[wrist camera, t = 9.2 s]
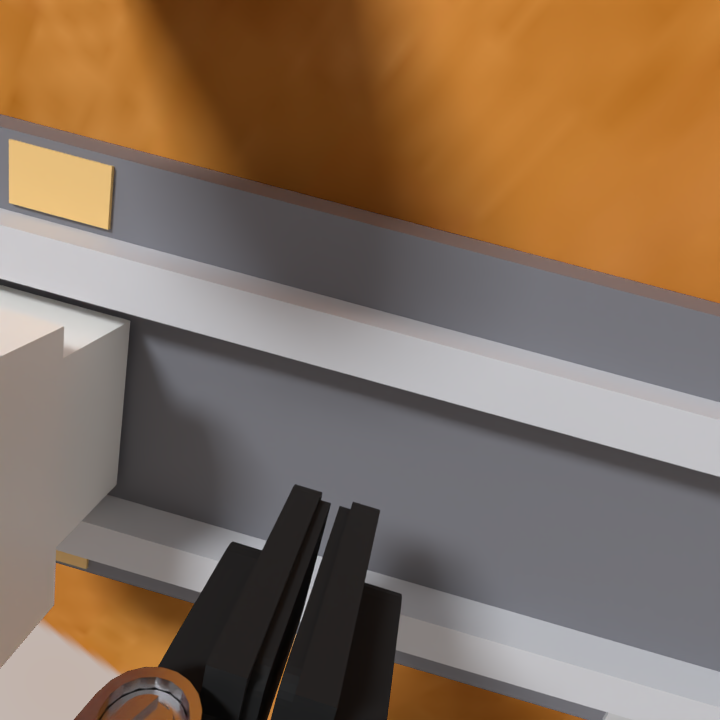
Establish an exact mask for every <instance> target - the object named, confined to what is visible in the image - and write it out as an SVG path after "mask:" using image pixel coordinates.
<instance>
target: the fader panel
mask: <svg viewBox="0 0 720 720" xmlns="http://www.w3.org/2000/svg"><path fill="white" fill-rule="evenodd" d="M0 285H3V286H6V287H10V288H14V289H17V290H21V291H24V292H28V293H32V294H35V295H39V296H43V297H46V298H50V299H53V300H57V301H61V302H64V303H68V304H71V305H75V306H79V307H82V308H86V309H90V310H93V311H97V312H100V313H104V314H108V315H111V316H115V317H119V318H122V319H126V320H129V321H130V332H129V343H128V355H127V367H126V379H125V391H124V403H123V415H122V427H121V438H120V450H119V462H118V474H117V485H116V486H115V487H114V488H113V489H112V490H111V491H110V492H109V493H108V494H107V495H106V496H105V497H104V498H103V499H102V500H101V501H100V502H99V503H98V504H97V505H96V506H95V507H94V508H93V510H92V511H91V512H90V513H89V514H88V515H87V516H86V517H85V518H84V519H83V520H82V521H81V522H80V523H79V524H78V525H77V526H76V527H75V528H74V529H73V530H72V531H71V532H70V533H69V534H68V535H67V537H66V538H65V539H64V540H63V541H62V542H61V543H60V544H59V545H58V546H57V547H56V563H59V564H63V565H66V566H69V567H73V568H76V569H79V570H83V571H86V572H90V573H93V574H96V575H100V576H103V577H106V578H110V579H113V580H117V581H120V582H123V583H127V584H130V585H134V586H137V587H140V588H144V589H147V590H150V591H154V592H157V593H161V594H164V595H167V596H171V597H174V598H178V599H181V600H184V601H188V602H191V603H194V604H195V602H196V600H197V599H198V597H199V595H200V593H201V592H202V590H203V588H204V587H205V585H206V583H207V581H208V580H209V578H210V576H211V574H212V573H213V571H214V569H215V568H216V566H217V564H218V562H219V561H220V559H221V557H222V556H223V554H224V552H225V550H226V549H227V547H228V546H229V544H230V543H231V542H233V541H234V542H237V543H240V544H243V545H246V546H250V547H253V548H256V549H259V550H262V549H263V547H264V545H265V543H266V541H267V539H268V537H269V535H270V533H271V531H272V529H273V527H274V525H275V523H276V521H277V519H278V517H279V515H280V513H281V511H282V509H283V506H284V504H285V502H286V500H287V498H288V496H289V494H290V492H291V490H292V488H293V486H294V485H295V484H297V485H300V486H303V487H307V488H310V489H313V490H316V491H320V492H322V498H321V500H322V501H326V502H329V503H331V506H330V510H329V514H328V517H327V521H326V525H325V529H324V533H323V537H322V540H321V544H320V548H319V552H318V556H317V560H316V563H315V567H314V571H313V575H312V579H311V583H310V586H309V590H308V594H307V598H306V602H305V606H304V609H303V613H302V616H301V619H300V623H301V620H302V617H303V614H304V611H305V608H306V605H307V602H308V599H309V596H310V593H311V590H312V587H313V584H314V581H315V578H316V575H317V572H318V569H319V566H320V563H321V560H322V557H323V554H324V551H325V548H326V545H327V542H328V539H329V536H330V533H331V530H332V527H333V524H334V521H335V518H336V515H337V512H338V509H339V506H342V507H345V508H349V509H351V506H352V503H353V502H356V503H360V504H363V505H366V506H369V507H373V508H376V509H379V510H380V514H379V519H378V524H377V528H376V533H375V537H374V542H373V547H372V551H371V556H370V560H369V565H368V570H367V574H366V579H365V583H368V584H372V585H375V586H378V587H381V588H385V589H388V590H391V591H394V592H397V593H401V594H402V604H401V612H400V620H399V628H398V636H397V644H396V652H395V660H394V663H397V664H401V665H404V666H408V667H411V668H414V669H418V670H421V671H424V672H428V673H431V674H435V675H438V676H441V677H445V678H448V679H451V680H455V681H458V682H462V683H465V684H468V685H472V686H475V687H479V688H482V689H485V690H489V691H492V692H495V693H499V694H502V695H506V696H509V697H512V698H516V699H519V700H522V701H526V702H529V703H533V704H536V705H539V706H543V707H546V708H550V709H553V710H556V711H560V712H563V713H566V714H570V715H573V716H577V717H580V718H583V719H587V720H720V304H719V303H715V302H712V301H708V300H704V299H700V298H696V297H693V296H689V295H685V294H681V293H677V292H674V291H670V290H666V289H662V288H658V287H655V286H651V285H647V284H643V283H639V282H636V281H632V280H628V279H624V278H620V277H617V276H613V275H609V274H605V273H601V272H598V271H594V270H590V269H586V268H582V267H579V266H575V265H571V264H567V263H563V262H560V261H556V260H552V259H548V258H544V257H541V256H537V255H533V254H529V253H525V252H522V251H518V250H514V249H510V248H506V247H503V246H499V245H495V244H491V243H487V242H484V241H480V240H476V239H472V238H468V237H465V236H461V235H457V234H453V233H449V232H446V231H442V230H438V229H434V228H430V227H427V226H423V225H419V224H415V223H411V222H408V221H404V220H400V219H396V218H392V217H389V216H385V215H381V214H377V213H373V212H370V211H366V210H362V209H358V208H354V207H351V206H347V205H343V204H339V203H335V202H332V201H328V200H324V199H320V198H316V197H313V196H309V195H305V194H301V193H297V192H294V191H290V190H286V189H282V188H278V187H275V186H271V185H267V184H263V183H259V182H256V181H252V180H248V179H244V178H240V177H237V176H233V175H229V174H225V173H221V172H218V171H214V170H210V169H206V168H202V167H199V166H195V165H191V164H187V163H183V162H180V161H176V160H172V159H168V158H164V157H161V156H157V155H153V154H149V153H145V152H142V151H138V150H134V149H130V148H126V147H123V146H119V145H115V144H111V143H107V142H104V141H100V140H96V139H92V138H88V137H85V136H81V135H77V134H73V133H69V132H66V131H62V130H58V129H54V128H51V127H47V126H43V125H39V124H35V123H32V122H28V121H24V120H20V119H16V118H13V117H9V116H5V115H1V114H0ZM300 623H299V626H300ZM299 626H298V629H299ZM298 629H297V632H298ZM297 632H296V634H297Z"/></svg>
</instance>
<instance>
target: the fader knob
mask: <svg viewBox="0 0 720 720" xmlns="http://www.w3.org/2000/svg"><path fill="white" fill-rule="evenodd" d="M129 332H130V321H129V320H126V319H122V318H119V317H115V316H111V315H108V314H104V313H100V312H97V311H93V310H90V309H86V308H82V307H79V306H75V305H71V304H68V303H64V302H61V301H57V300H53V299H50V298H46V297H43V296H39V295H35V294H32V293H28V292H24V291H21V290H17V289H14V288H10V287H6V286H3V285H0V668H1V667H2V666H3V665H4V663H5V662H6V661H7V660H8V659H9V658H10V656H11V655H12V654H13V653H14V652H15V650H16V649H17V648H18V647H19V646H20V644H21V643H22V642H23V641H24V640H25V639H26V637H27V636H28V635H29V634H30V633H31V631H32V630H33V629H34V628H35V626H37V624H38V623H39V622H40V621H41V620H42V619H43V617H44V616H45V615H46V614H47V613H48V611H49V610H50V609H51V608H52V607H53V606H54V592H55V565H56V547H57V546H58V545H59V544H60V543H61V542H62V541H63V540H64V539H65V538H66V537H67V535H68V534H69V533H70V532H71V531H72V530H73V529H74V528H75V527H76V526H77V525H78V524H79V523H80V522H81V521H82V520H83V519H84V518H85V517H86V516H87V515H88V514H89V513H90V512H91V511H92V510H93V508H94V507H95V506H96V505H97V504H98V503H99V502H100V501H101V500H102V499H103V498H104V497H105V496H106V495H107V494H108V493H109V492H110V491H111V490H112V489H113V488H114V487H115V486H116V485H117V474H118V462H119V450H120V438H121V427H122V415H123V403H124V391H125V379H126V367H127V355H128V343H129Z"/></svg>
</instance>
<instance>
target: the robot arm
mask: <svg viewBox="0 0 720 720" xmlns="http://www.w3.org/2000/svg"><path fill="white" fill-rule="evenodd" d="M321 498H322V492H320V491H316V490H313V489H310V488H307V487H303V486H300V485H297V484H295V485H294V486H293V488H292V490H291V492H290V494H289V496H288V498H287V500H286V502H285V504H284V506H283V509H282V511H281V513H280V515H279V517H278V519H277V521H276V523H275V525H274V527H273V529H272V531H271V533H270V535H269V537H268V539H267V541H266V543H265V545H264V547H263V549H262V550H259V549H256V548H253V547H250V546H246V545H243V544H240V543H237V542H234V541H233V542H231V543H230V544H229V546H228V547H227V549H226V550H225V552H224V554H223V556H222V557H221V559H220V561H219V562H218V564H217V566H216V568H215V569H214V571H213V573H212V574H211V576H210V578H209V580H208V581H207V583H206V585H205V587H204V588H203V590H202V592H201V593H200V595H199V597H198V599H197V600H196V602H195V604H194V606H193V607H192V609H191V611H190V612H189V614H188V616H187V618H186V619H185V621H184V623H183V624H182V626H181V628H180V630H179V631H178V633H177V635H176V637H175V638H174V640H173V642H172V643H171V645H170V647H169V649H168V650H167V652H166V654H165V655H164V657H163V659H162V661H161V662H160V664H159V666H158V667H143V668H139V669H135V670H131V671H127V672H125V673H124V674H122V675H120V676H118V677H116V678H114V679H112V680H111V681H110V682H109V683H107V684H106V685H105V686H104V687H103V688H102V689H101V690H100V691H98V692H97V693H96V694H95V696H94V697H93V698H92V699H91V700H90V701H89V703H88V704H87V705H86V706H85V707H84V708H83V710H82V711H81V712H80V713H79V714H78V716H76V718H75V719H74V720H267V718H268V715H269V712H270V709H271V706H272V703H273V700H274V697H275V694H276V691H277V688H278V685H279V682H280V679H281V676H282V673H283V670H284V668H285V665H286V662H287V659H288V656H289V653H290V650H291V647H292V644H293V641H294V638H295V635H296V632H297V629H298V626H299V623H300V619H301V616H302V613H303V609H304V606H305V602H306V598H307V594H308V590H309V586H310V583H311V579H312V575H313V571H314V567H315V563H316V560H317V556H318V552H319V548H320V544H321V540H322V537H323V533H324V529H325V525H326V521H327V517H328V514H329V510H330V506H331V503H329V502H326V501H322V500H321ZM379 514H380V510H379V509H376V508H373V507H369V506H366V505H363V504H360V503H356V502H353V503H352V506H351V509H349V508H345V507H342V506H339V509H338V512H337V515H336V518H335V521H334V524H333V527H332V530H331V533H330V536H329V539H328V542H327V545H326V548H325V551H324V554H323V557H322V560H321V563H320V566H319V569H318V572H317V575H316V578H315V581H314V584H313V587H312V590H311V593H310V596H309V599H308V602H307V605H306V608H305V611H304V614H303V617H302V620H301V623H300V626H299V629H298V632H297V635H296V638H295V641H294V644H293V647H292V650H291V653H290V656H289V659H288V662H287V665H286V668H285V671H284V674H283V678H282V681H281V684H280V687H279V691H278V694H277V698H276V701H275V705H274V709H273V713H272V717H271V720H387V715H388V707H389V699H390V691H391V683H392V675H393V667H394V660H395V652H396V644H397V636H398V628H399V620H400V612H401V604H402V594H401V593H397V592H394V591H391V590H388V589H385V588H381V587H378V586H375V585H372V584H368V583H365V579H366V574H367V570H368V565H369V560H370V556H371V551H372V547H373V542H374V537H375V533H376V528H377V524H378V519H379Z"/></svg>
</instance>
